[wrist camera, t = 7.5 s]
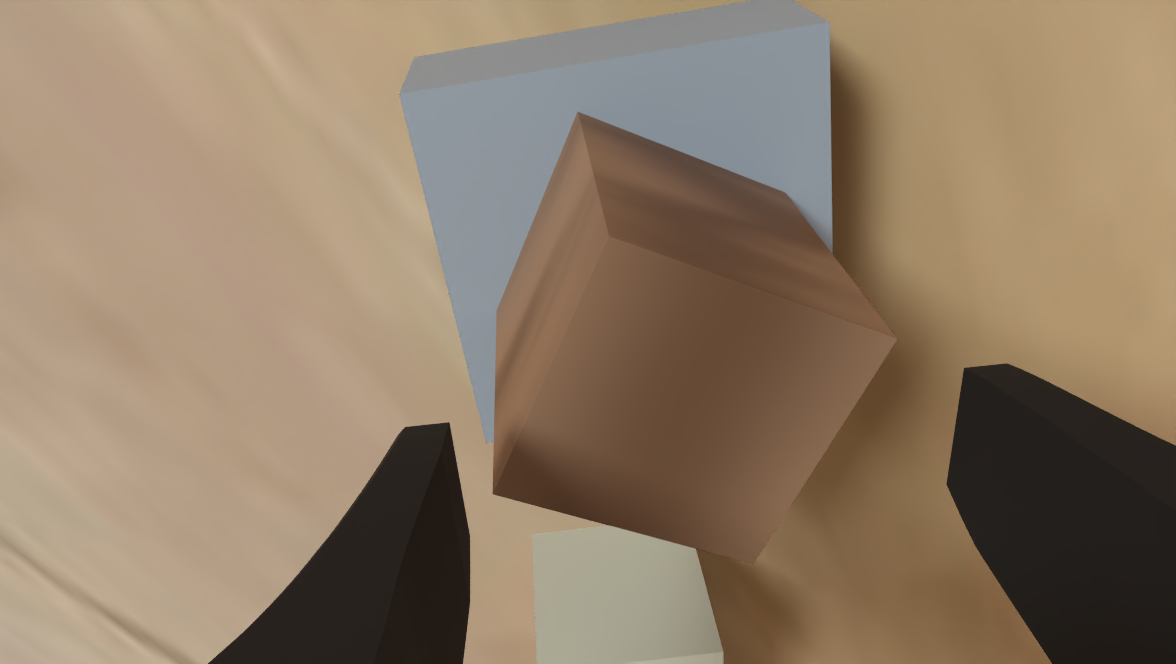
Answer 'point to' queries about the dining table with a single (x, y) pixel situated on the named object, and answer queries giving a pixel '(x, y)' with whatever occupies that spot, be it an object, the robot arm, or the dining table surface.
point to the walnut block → (673, 347)
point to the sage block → (620, 600)
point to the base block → (621, 98)
